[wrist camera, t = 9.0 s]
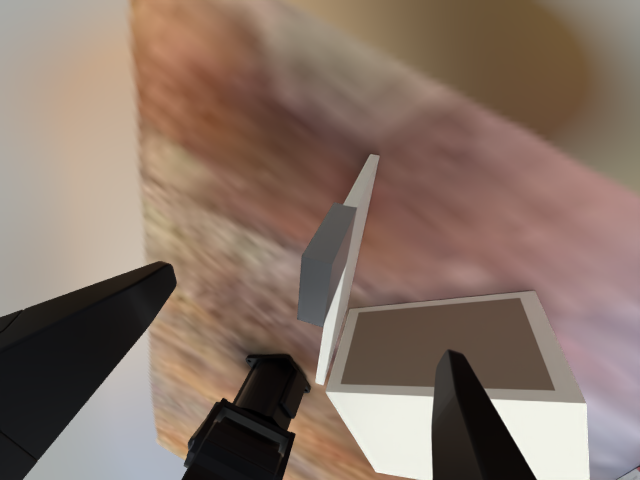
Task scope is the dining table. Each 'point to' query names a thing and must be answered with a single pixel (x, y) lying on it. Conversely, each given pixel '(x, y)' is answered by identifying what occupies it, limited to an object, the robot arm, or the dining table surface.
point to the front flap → (334, 264)
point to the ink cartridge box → (632, 475)
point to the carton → (489, 366)
